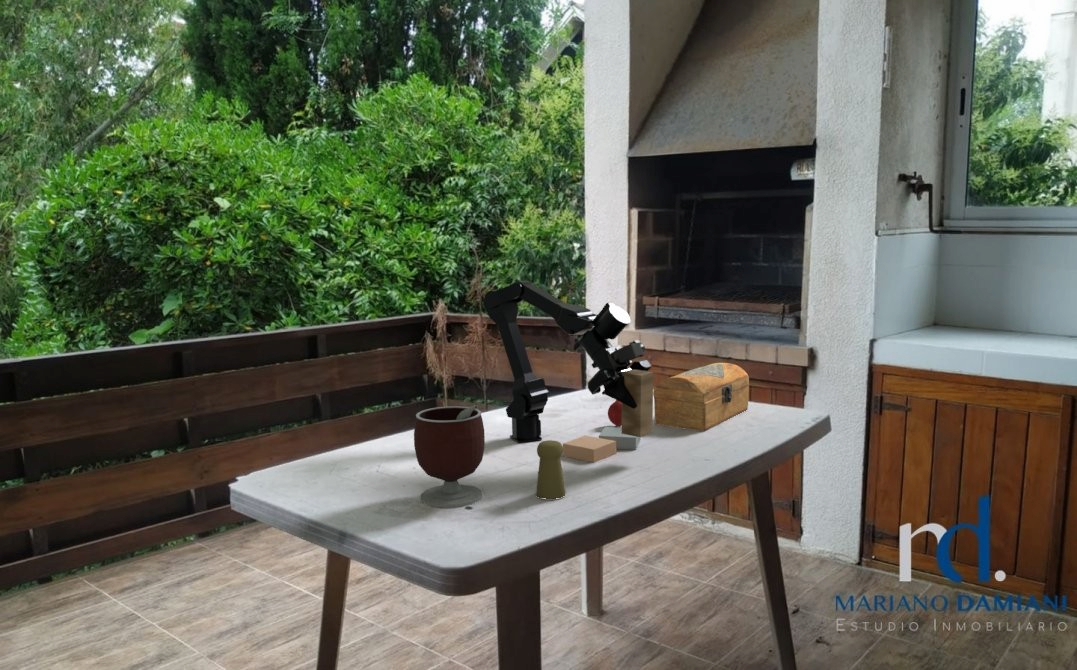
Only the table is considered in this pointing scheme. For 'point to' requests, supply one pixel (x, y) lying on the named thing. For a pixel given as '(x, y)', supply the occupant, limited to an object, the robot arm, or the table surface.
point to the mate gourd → (449, 452)
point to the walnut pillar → (638, 403)
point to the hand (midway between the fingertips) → (642, 405)
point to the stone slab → (620, 438)
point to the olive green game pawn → (550, 470)
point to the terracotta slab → (589, 448)
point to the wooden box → (702, 397)
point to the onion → (615, 413)
